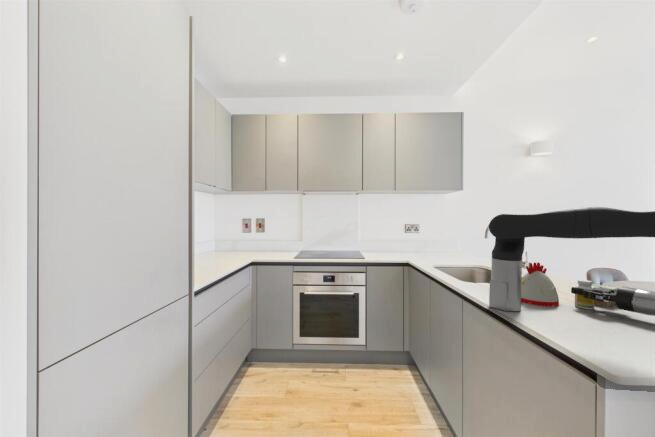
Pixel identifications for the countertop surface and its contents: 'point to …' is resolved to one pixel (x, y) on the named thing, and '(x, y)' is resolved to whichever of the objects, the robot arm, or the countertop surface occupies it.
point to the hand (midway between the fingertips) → (576, 289)
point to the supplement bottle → (582, 301)
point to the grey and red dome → (538, 287)
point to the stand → (604, 301)
